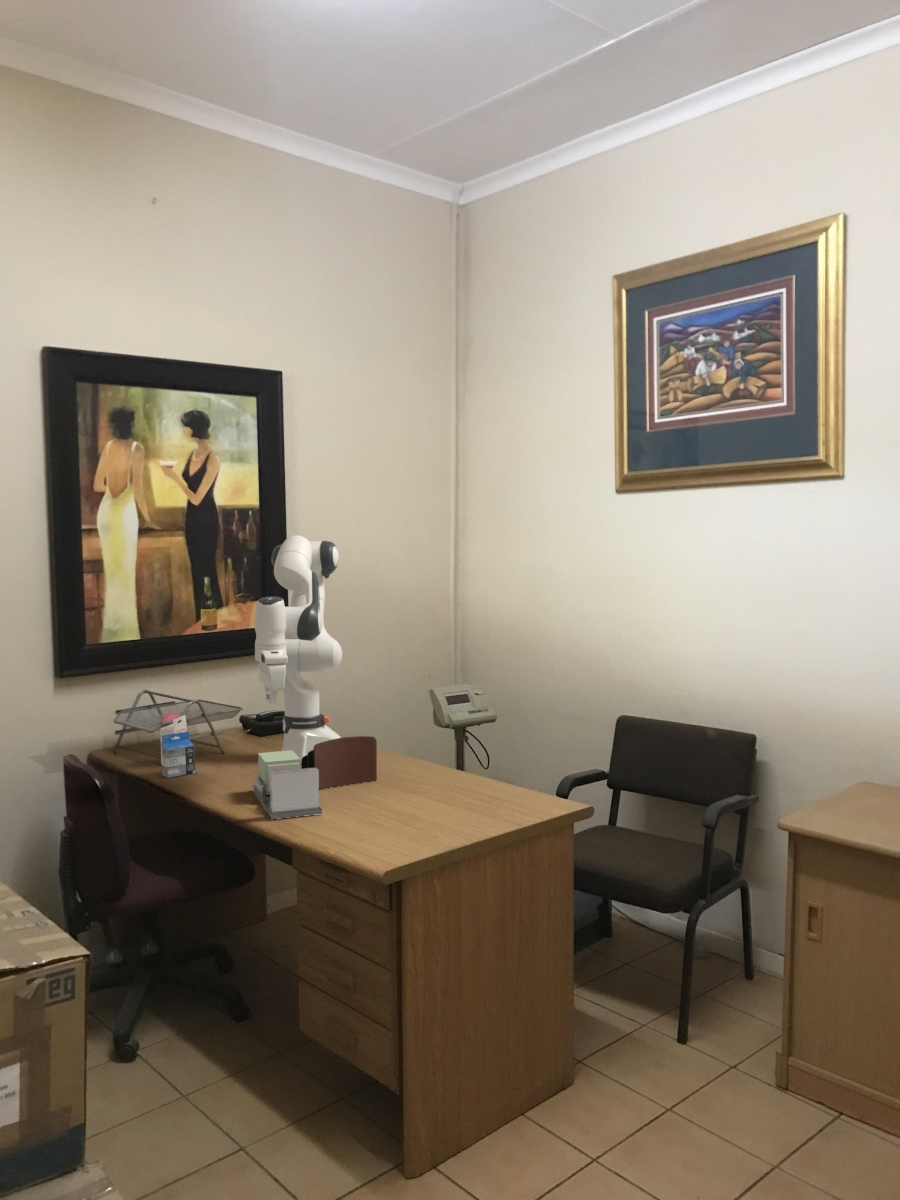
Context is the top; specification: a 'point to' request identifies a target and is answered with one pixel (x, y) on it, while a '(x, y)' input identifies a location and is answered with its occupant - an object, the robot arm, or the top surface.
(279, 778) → the tray
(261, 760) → the pale green block
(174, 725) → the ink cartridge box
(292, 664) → the robot arm
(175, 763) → the label tape box
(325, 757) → the letter holder
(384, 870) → the top surface
